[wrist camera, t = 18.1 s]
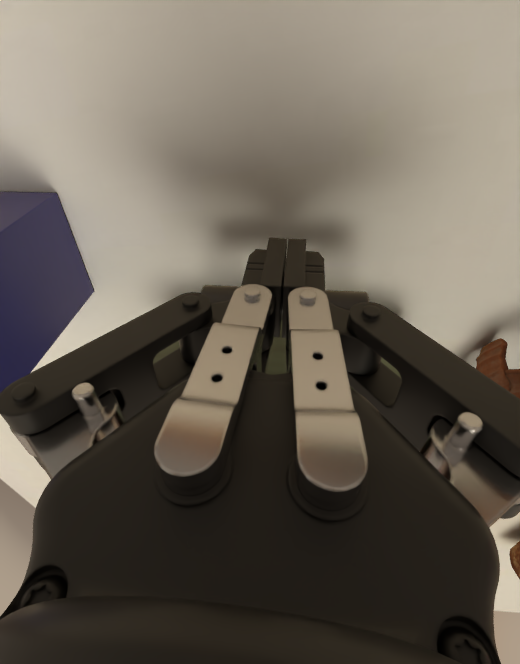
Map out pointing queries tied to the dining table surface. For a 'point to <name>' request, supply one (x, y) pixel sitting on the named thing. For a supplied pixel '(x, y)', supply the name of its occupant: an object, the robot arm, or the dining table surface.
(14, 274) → the snack box
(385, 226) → the dining table surface
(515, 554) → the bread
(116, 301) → the dining table surface
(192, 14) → the dining table surface
